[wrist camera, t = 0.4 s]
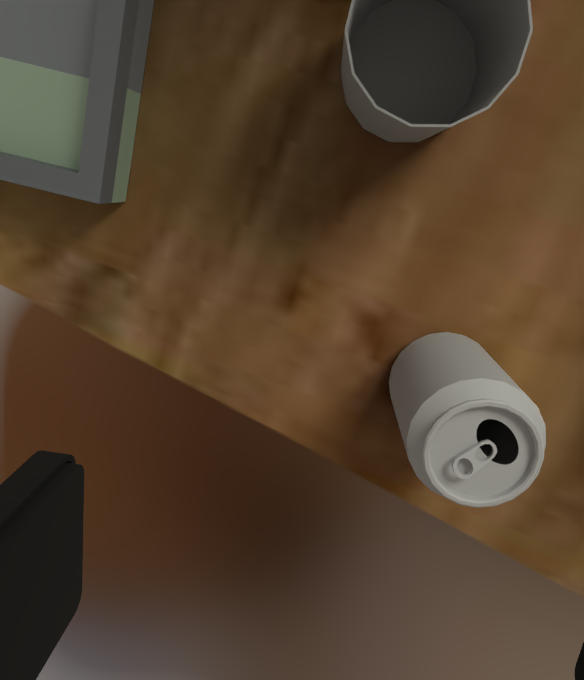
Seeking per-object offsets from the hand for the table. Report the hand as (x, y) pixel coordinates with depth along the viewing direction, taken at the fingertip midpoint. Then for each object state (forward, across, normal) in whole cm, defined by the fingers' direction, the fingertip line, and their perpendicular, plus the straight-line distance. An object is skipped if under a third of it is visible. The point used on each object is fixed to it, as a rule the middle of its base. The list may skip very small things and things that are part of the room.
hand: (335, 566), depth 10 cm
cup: (+30, -3, -14) cm, 33 cm away
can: (+30, -9, +6) cm, 32 cm away
